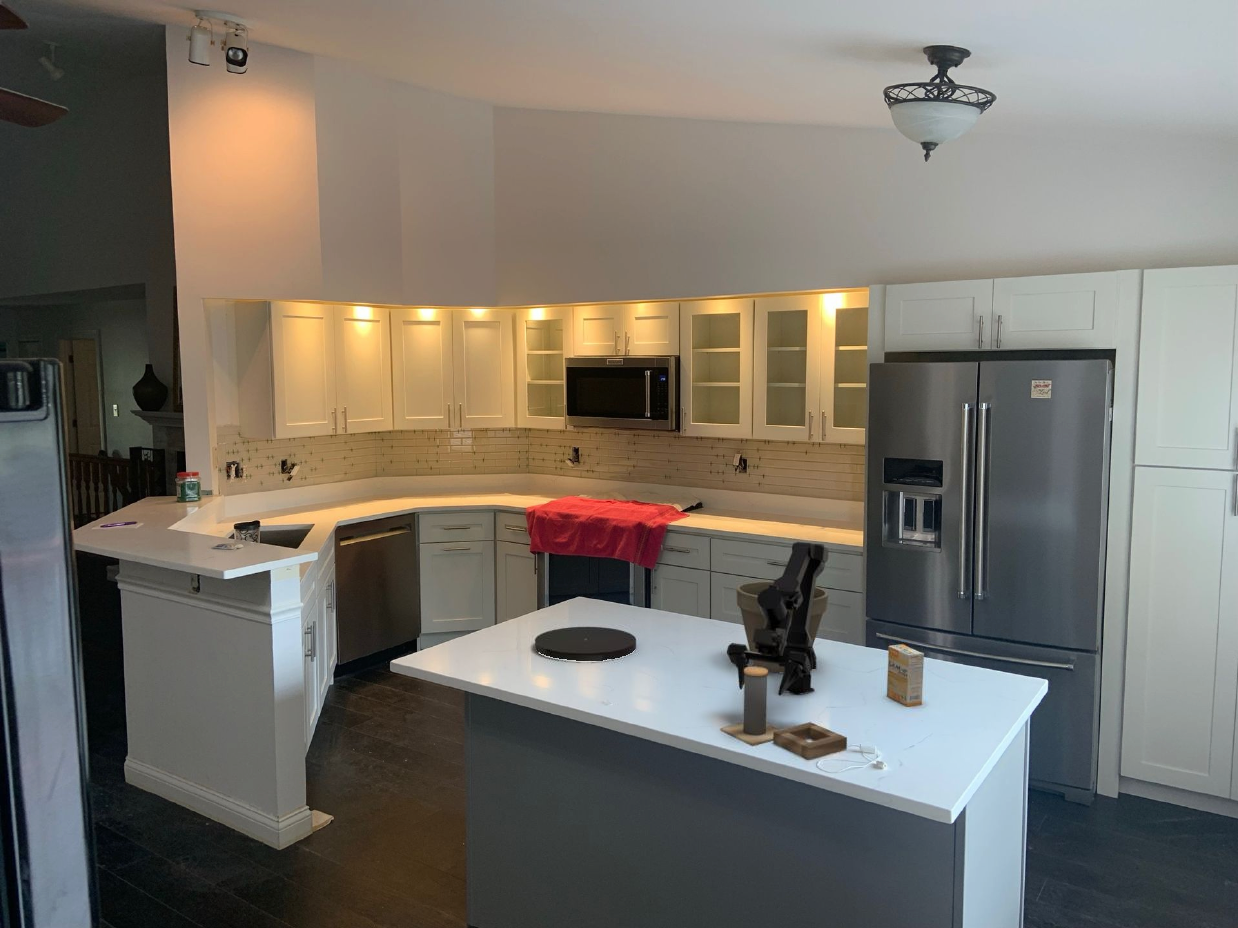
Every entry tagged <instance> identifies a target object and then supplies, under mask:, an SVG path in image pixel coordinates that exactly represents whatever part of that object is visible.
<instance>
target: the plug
mask: <svg viewBox="0 0 1238 928" xmlns="http://www.w3.org/2000/svg"><path fill="white" fill-rule="evenodd" d="M744 673H745V675H744V686H743V719H742V720H743V732H744V733H746V734H749V735H763V734H765V733H766V723H767V701H768V699H767V696H768V674H769V671H768V670H767V669H766V668H762V667H756V666H748V667H746V668H745V669H744Z"/></svg>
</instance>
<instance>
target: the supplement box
mask: <svg viewBox="0 0 1238 928" xmlns="http://www.w3.org/2000/svg"><path fill="white" fill-rule="evenodd" d="M924 661H925V653H924V652H921V651H919V650H916V649H914V648H912V647H909V646H907V645H905V644H894V645H889V646H888V653H887V678H886V680H887V681H886V682H887V684H886V697H888V698H890V699H892V700H894V701H896V702H897V703H898V702H899V703H901V704H902V705H904V706H905V707H914V706H920V705H922V704H923V687H924V686H923V685H924V684H923V682H924V665H925V664H924Z"/></svg>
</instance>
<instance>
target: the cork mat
mask: <svg viewBox="0 0 1238 928" xmlns="http://www.w3.org/2000/svg"><path fill="white" fill-rule="evenodd" d="M719 730H720V731H722V732H723V733H725V734H728V735H730V736H732V737H733V738H735V737H736V738H735V739H737V740H739V741H741V742H743V743H745V744H748V745H749V746H752V747H753V746H757V745H762V744H765V743H769V742H773V732H774V731H778V730H781V728H779V727H776V726H775V725H772V724H770V723H767V722H766V733H765V734H763V735H749V734H746V733H744V732H743V722H740V723H739V722H738V723H735V724H731V725H727V726H723V727H720V729H719Z"/></svg>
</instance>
